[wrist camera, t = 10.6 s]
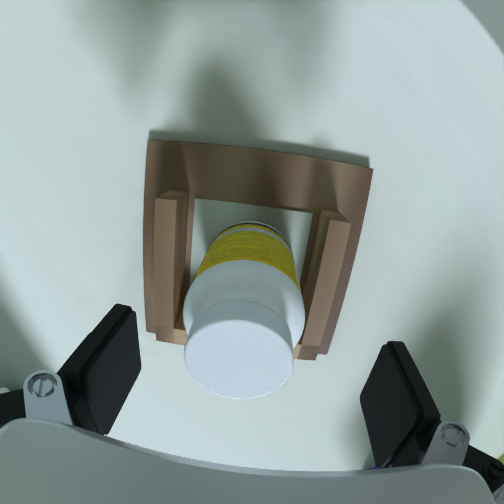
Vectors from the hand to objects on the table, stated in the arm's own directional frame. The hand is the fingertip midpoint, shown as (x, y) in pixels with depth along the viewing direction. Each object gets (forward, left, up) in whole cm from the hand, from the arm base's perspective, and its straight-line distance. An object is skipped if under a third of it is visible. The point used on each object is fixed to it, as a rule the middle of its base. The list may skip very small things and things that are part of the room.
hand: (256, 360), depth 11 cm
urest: (+1, 0, -10) cm, 10 cm away
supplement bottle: (+1, 0, -10) cm, 10 cm away
